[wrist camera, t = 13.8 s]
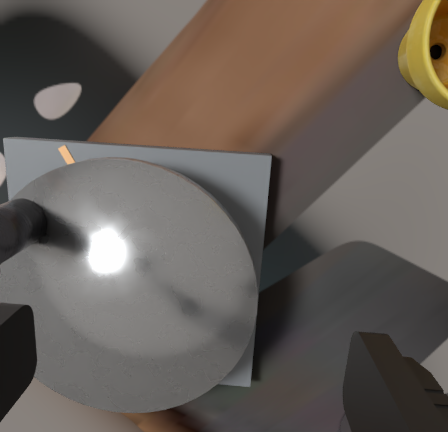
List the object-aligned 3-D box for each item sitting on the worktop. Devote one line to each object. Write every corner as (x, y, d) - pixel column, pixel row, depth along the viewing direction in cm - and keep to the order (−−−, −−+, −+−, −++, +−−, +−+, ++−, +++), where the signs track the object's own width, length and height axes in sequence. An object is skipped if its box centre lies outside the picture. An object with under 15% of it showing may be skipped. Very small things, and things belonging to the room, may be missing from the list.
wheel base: (249, 375, 45) (250, 413, 39) (33, 357, 46) (3, 392, 40) (270, 153, 38) (275, 161, 32) (15, 136, 39) (-26, 141, 33)
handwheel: (209, 119, 31) (199, 121, 24) (287, 370, 37) (298, 433, 30) (-54, 203, 34) (-134, 227, 27) (57, 423, 40) (16, 492, 33)
